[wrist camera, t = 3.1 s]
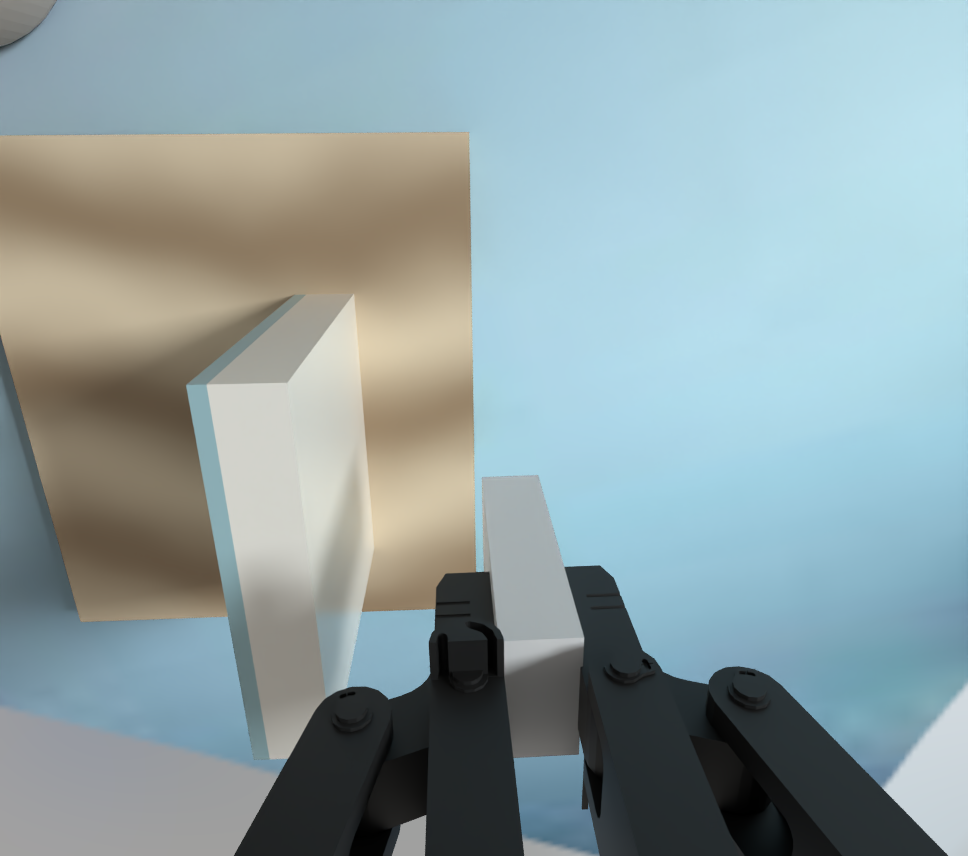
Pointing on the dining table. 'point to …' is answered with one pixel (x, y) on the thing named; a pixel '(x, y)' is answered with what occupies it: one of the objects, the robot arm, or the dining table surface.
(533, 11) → the dining table surface
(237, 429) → the tile
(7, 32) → the coffee cup
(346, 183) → the board
